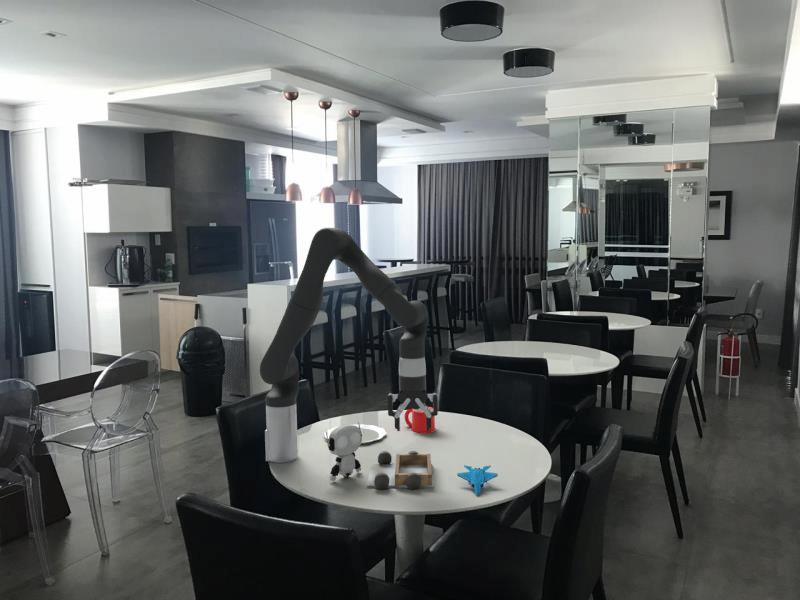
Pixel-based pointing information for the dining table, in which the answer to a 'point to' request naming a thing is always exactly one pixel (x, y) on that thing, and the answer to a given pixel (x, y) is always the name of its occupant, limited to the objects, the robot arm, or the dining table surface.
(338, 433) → the robot toy
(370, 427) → the plate
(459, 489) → the dining table surface
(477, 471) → the toy airplane
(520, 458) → the dining table surface
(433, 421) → the mug
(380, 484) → the chassis
